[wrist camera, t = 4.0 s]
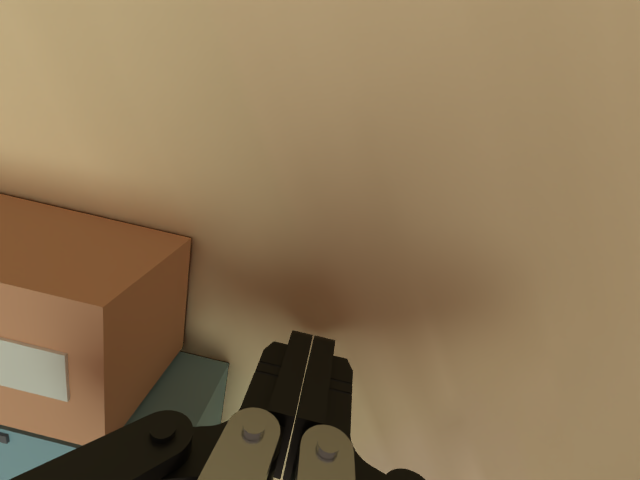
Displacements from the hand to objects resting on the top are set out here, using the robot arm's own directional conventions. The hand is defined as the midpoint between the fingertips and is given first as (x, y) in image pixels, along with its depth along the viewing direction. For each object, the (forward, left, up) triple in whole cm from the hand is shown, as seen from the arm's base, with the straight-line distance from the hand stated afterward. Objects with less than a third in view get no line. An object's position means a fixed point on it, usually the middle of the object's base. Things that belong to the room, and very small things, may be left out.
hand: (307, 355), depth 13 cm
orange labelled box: (+10, 0, -2) cm, 10 cm away
